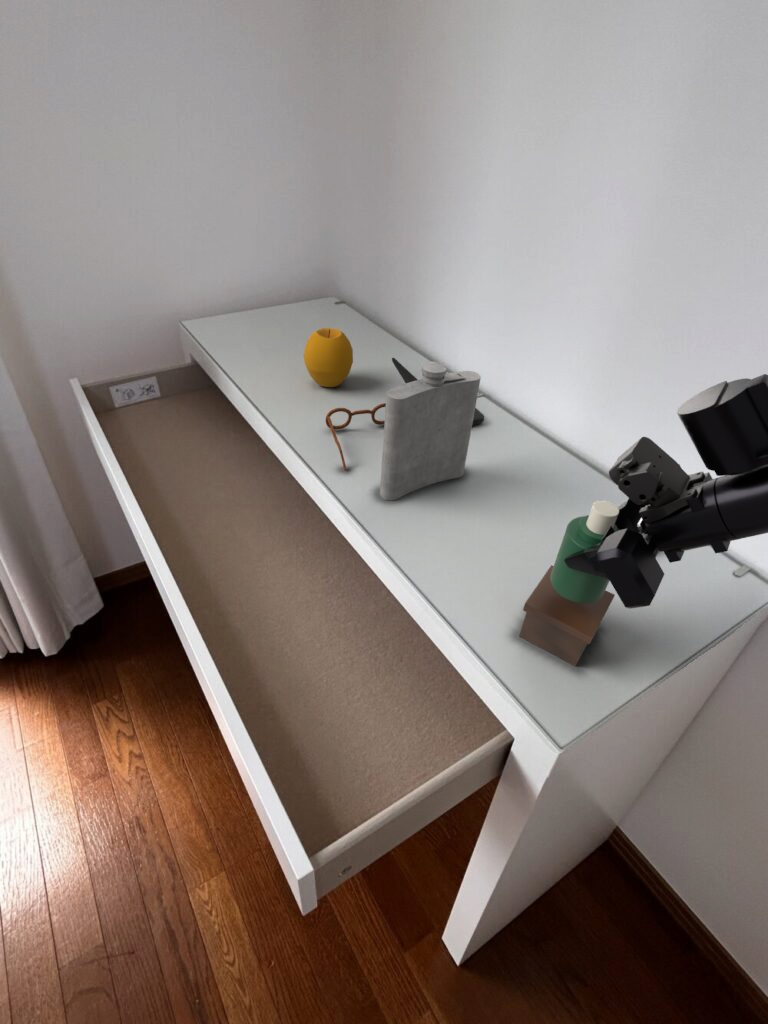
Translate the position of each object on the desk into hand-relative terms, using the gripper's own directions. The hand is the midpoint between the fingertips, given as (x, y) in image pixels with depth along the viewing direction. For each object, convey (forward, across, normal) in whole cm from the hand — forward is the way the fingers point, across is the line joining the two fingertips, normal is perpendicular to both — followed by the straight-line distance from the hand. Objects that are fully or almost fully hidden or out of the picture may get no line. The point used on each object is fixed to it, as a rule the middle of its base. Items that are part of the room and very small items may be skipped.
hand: (576, 546), depth 62 cm
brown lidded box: (+9, 0, +10) cm, 13 cm away
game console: (+37, -37, -18) cm, 56 cm away
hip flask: (+30, -16, -10) cm, 35 cm away
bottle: (+2, 0, +4) cm, 5 cm away
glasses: (+38, -19, -20) cm, 47 cm away
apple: (+53, -32, -34) cm, 70 cm away
